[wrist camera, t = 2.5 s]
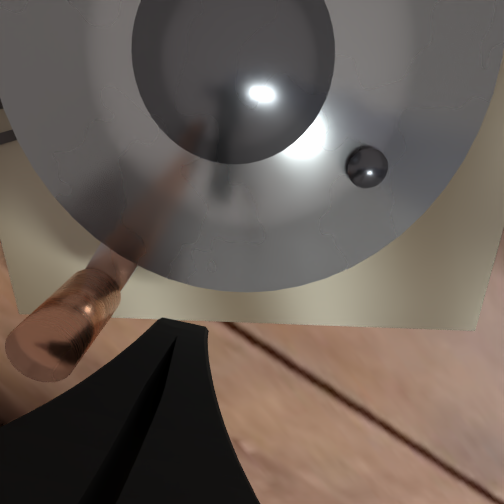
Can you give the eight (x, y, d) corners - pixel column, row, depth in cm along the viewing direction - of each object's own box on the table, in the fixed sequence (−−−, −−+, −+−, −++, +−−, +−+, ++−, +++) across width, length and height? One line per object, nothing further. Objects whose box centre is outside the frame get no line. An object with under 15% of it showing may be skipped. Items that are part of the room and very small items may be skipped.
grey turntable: (159, -454, 7) (29, -1098, 3) (595, 4, 9) (817, -57, 5) (-79, 188, 12) (-242, 232, 8) (244, 383, 14) (235, 488, 10)
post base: (613, -324, 8) (779, -529, 6) (455, 308, 15) (498, 359, 12) (-91, -307, 9) (-250, -482, 6) (42, 293, 15) (-10, 338, 12)
